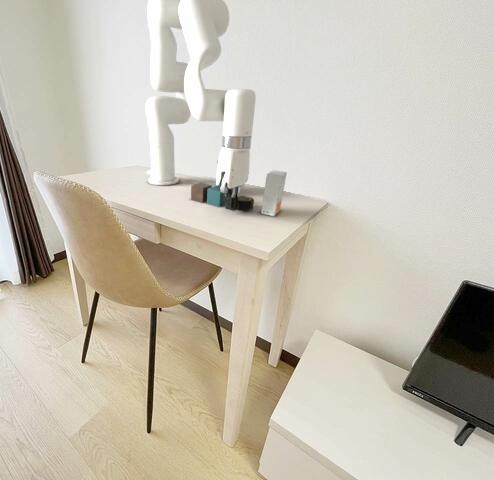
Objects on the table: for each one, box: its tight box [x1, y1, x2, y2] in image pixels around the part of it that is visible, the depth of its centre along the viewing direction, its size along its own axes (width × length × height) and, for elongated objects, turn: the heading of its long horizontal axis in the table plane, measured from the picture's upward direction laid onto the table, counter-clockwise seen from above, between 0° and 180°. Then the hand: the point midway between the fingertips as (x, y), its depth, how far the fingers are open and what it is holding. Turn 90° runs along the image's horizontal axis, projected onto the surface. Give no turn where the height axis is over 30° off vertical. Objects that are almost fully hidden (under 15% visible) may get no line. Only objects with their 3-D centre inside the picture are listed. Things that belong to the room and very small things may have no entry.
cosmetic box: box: [260, 169, 288, 217], centre depth 76 cm, size 6×4×12 cm
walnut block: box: [190, 182, 213, 204], centre depth 87 cm, size 5×5×5 cm
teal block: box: [206, 185, 226, 208], centre depth 84 cm, size 5×5×5 cm
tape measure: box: [235, 195, 255, 212], centre depth 79 cm, size 7×7×4 cm
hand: (231, 209), depth 76 cm, fingers closed
